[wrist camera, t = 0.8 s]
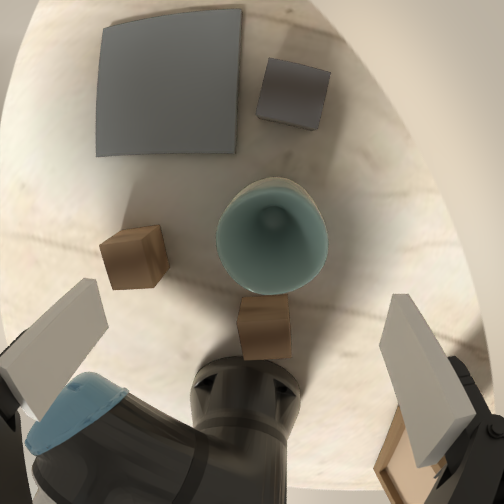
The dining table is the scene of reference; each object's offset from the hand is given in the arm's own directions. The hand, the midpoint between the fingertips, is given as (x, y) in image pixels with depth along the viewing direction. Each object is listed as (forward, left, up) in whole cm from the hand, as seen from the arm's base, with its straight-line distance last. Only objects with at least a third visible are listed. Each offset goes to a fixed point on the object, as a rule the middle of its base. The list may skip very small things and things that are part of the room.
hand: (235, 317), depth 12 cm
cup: (0, -1, -19) cm, 19 cm away
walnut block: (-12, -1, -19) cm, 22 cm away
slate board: (+13, +10, -19) cm, 25 cm away
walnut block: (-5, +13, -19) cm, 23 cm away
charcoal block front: (+11, -2, -19) cm, 22 cm away
